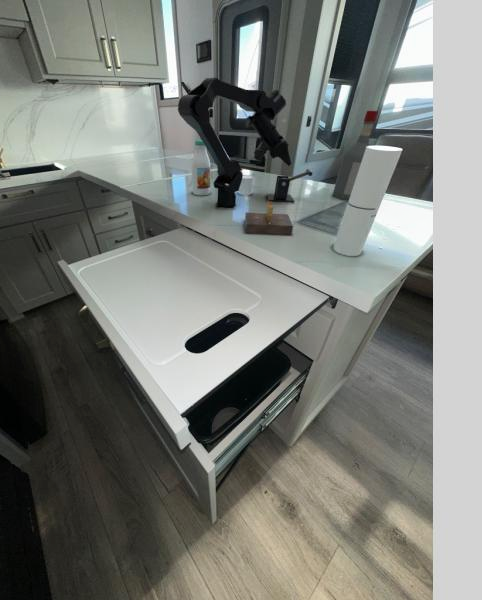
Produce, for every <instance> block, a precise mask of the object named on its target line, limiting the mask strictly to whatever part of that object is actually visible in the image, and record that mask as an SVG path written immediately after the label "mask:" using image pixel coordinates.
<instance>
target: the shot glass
mask: <svg viewBox="0 0 482 600" xmlns="http://www.w3.org/2000/svg"><path fill="white" fill-rule="evenodd" d="M255 179H256V177H255V176H254V175H250V174H243V177H242V181H241V184H240V188H239V191H238V194H239V195H242V196H250V195H252V193H253V189H254V184H255Z"/></svg>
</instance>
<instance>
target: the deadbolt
mask: <svg viewBox="0 0 482 600" xmlns="http://www.w3.org/2000/svg"><path fill="white" fill-rule="evenodd" d="M265 213H266V215H265V216H266V221H267V222H271V220H272V214H274V205H273V202H272V201H268V200H267V202H266V210H265Z"/></svg>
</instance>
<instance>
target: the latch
mask: <svg viewBox="0 0 482 600" xmlns="http://www.w3.org/2000/svg"><path fill="white" fill-rule="evenodd" d="M306 176H309V177H312V176H313V172H312V171H311V169H309V168H307V169H306V170H305V171H304V172H302V173H299V174H295V175H294V176H291V177H289V178H290V182H292V181H295V180H297V179H300V178H303V177H306ZM284 178H286V177H284Z"/></svg>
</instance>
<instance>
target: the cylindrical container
mask: <svg viewBox="0 0 482 600" xmlns="http://www.w3.org/2000/svg"><path fill="white" fill-rule="evenodd" d="M402 152H403V148H401V147H396V146H390V145H370V146H367V147H366V150H365V153H364V156H363V159H362V162H361V165H360V168H359V171H358V174H357V177H356V180H355V183H354V186H353V189H352V192H351V195H350V199H349V201H348V202H347V205H346V208H345V211H344V214H343V217H342V219H341V223H340V227H339V229H338V233H337V235H336V238H335V242H334V245H333V251H335V252H336V253H337V254H340V255H343V256H347V257H356V256H360V255H361V254H362V251H363V249H364V247H365V244H366V242H367V239H368V236H369V234H370V231H371V230H372V226H373V224H374V222H375V219H376V217H377V215H378V211H379V209H380V207H381V205H382V203H383V200H384V198H385V194H386V192H387V189H388V187H389V184H390V182H391V179H392V177H393V175H394V172H395V170H396V168H397V165H398V162H399V160H400V158H401V154H402Z"/></svg>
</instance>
